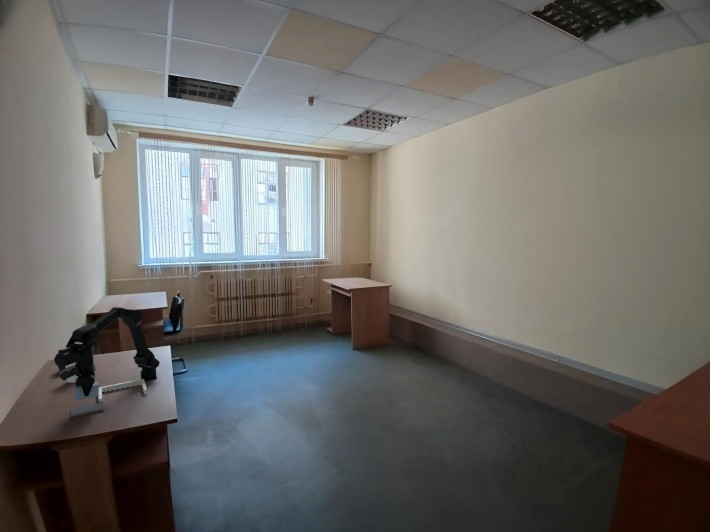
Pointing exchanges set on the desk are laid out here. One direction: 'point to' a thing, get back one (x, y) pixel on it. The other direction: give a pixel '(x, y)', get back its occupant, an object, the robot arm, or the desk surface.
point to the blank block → (80, 394)
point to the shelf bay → (122, 385)
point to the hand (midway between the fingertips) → (87, 394)
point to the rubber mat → (86, 409)
